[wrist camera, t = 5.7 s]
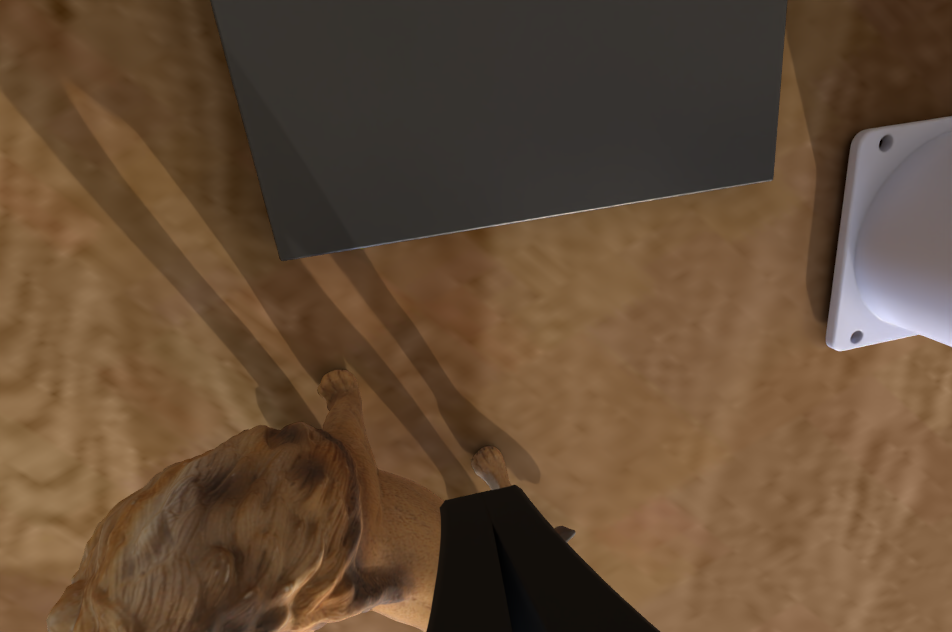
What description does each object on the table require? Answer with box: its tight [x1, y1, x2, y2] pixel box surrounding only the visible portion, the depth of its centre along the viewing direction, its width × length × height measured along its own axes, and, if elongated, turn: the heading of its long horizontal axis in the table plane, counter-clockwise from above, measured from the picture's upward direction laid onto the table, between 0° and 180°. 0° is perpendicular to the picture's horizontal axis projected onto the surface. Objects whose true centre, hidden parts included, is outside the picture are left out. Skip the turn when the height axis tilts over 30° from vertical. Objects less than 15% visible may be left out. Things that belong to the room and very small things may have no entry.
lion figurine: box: [47, 370, 575, 632], centre depth 14 cm, size 15×5×9 cm, turn 61°
